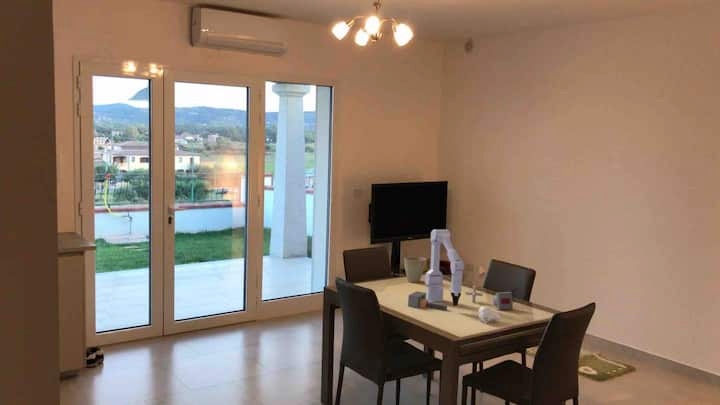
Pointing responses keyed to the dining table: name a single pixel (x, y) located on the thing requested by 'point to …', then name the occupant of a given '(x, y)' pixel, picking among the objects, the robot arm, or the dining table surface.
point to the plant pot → (414, 268)
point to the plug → (432, 305)
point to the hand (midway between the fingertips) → (455, 305)
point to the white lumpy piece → (488, 314)
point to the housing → (415, 299)
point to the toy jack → (474, 294)
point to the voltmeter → (504, 300)
